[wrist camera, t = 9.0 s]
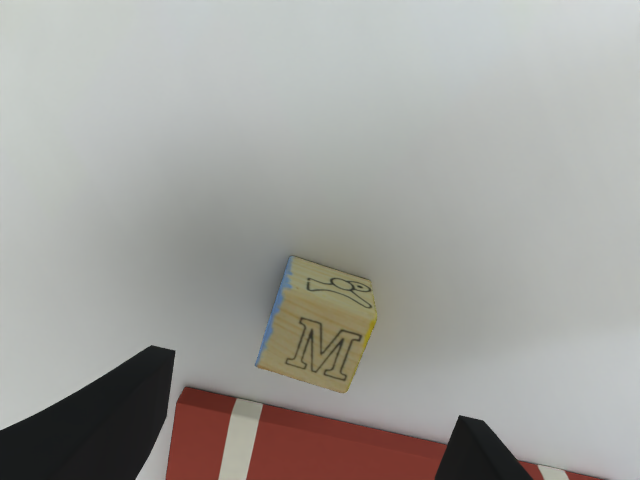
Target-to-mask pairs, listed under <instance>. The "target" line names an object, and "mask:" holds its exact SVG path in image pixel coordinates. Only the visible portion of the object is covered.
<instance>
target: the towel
mask: <svg viewBox="0 0 640 480" xmlns="http://www.w3.org/2000/svg"><path fill="white" fill-rule="evenodd" d="M446 447H447V445H445V444H441V443H436V442H432V441H427V440H423V439H418V438H414V437H409V436H405V435H400V434H396V433H391V432H387V431H382V430H378V429H373V428H369V427H364V426H360V425H355V424H351V423H346V422H342V421H337V420H333V419H328V418H324V417H319V416H315V415H310V414H306V413H301V412H297V411H292V410H288V409H283V408H279V407H274V406H270V405H265V404H262V403H258V402H253V401H249V400H244V399H240V398H234V397H229V396H225V395H220V394H216V393H211V392H207V391H202V390H198V389H193V388H189V387H185V388H184V389H183V391H182V393H181V395H180V397H179V399H178V401H177V403H176V410H175V417H174V424H173V431H172V438H171V445H170V452H169V459H168V466H167V473H166V480H435V475H436V472H437V470H438V467H439V465H440V462H441V460H442V457H443V455H444V452H445V450H446ZM518 462H519V463H520V464H521V465H522V466H523V468H524V469H525V470H526V471H527V472H528V473H529V475H530V476H531V477H532V478H533V479H534V480H603V479H598V478H594V477H589V476H585V475H580V474H576V473H571V472H567V471H564V470H561V469H557V468H552V467H548V466H543V465H539V464H537V465H535V464H531V463H526V462H522V461H518Z"/></svg>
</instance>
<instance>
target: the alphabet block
mask: <svg viewBox="0 0 640 480" xmlns="http://www.w3.org/2000/svg"><path fill="white" fill-rule="evenodd" d="M376 320H377V312H376V308H375V302H374V296H373V291H372V285H371V281H369V280H366V279H363V278H360V277H356V276H353V275H350V274H347V273H344V272H341V271H338V270H334V269H331V268H328V267H325V266H322V265H319V264H316V263H312V262H310V261H306V260H303V259H300V258H297V257H295V256H290V258H289V260H288V263H287V266H286V269H285V272H284V276H283V279H282V282H281V285H280V288H279V291H278V294H277V297H276V300H275V303H274V306H273V309H272V312H271V315H270V318H269V321H268V324H267V327H266V330H265V334H264V337H263V341H262V344H261V347H260V351H259V354H258V357H257V360H256V363H255V366H256V367H258V368H261V369H265V370H268V371H271V372H275V373H278V374H281V375H285V376H288V377H291V378H294V379H297V380H300V381H304V382H307V383H310V384H313V385H317V386H320V387H323V388H327V389H330V390H333V391H336V392H339V393H346V392H347V391H348V389H349V387H350V384H351V381H352V379H353V376H354V375H355V372H356V370H357V367H358V364H359V362H360V359H361V357H362V354H363V352H364V350H365V348H366V345H367V342H368V340H369V338H370V335H371V332H372V330H373V328H374V326H375V323H376Z"/></svg>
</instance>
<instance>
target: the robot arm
mask: <svg viewBox="0 0 640 480" xmlns="http://www.w3.org/2000/svg"><path fill="white" fill-rule="evenodd" d="M174 358H175V351H174V350H170V349H165V348H161V347H157V346H152V345H151V346H149V347H148V348H146V349H144V350H143V351H141V352H139V353H138V354H136V355H135V356H133V357H132V358H130V359H129V360H127V361H126V362H124V363H122V364H121V365H119V366H118V367H116V368H115V369H113V370H112V371H110V372H108V373H107V374H105V375H104V376H102V377H100V378H99V379H97V380H95V381H94V382H92V383H90V384H89V385H87V386H85V387H84V388H82V389H81V390H79V391H77V392H75V393H74V394H72V395H70V396H68V397H66V398H65V399H63V400H61V401H59V402H57V403H55V404H54V405H52V406H50V407H48V408H46V409H45V410H43V411H41V412H39V413H37V414H35V415H33V416H31V417H29V418H27V419H25V420H22V421H20V422H18V423H16V424H14V425H12V426H9V427H7V428H5V429H3V430H0V480H135V479H136V477H137V476H138V474H139V472H140V470H141V469H142V467H143V465H144V464H145V462H146V460H147V458H148V457H149V455H150V453H151V450H152V448H153V446H154V444H155V442H156V440H157V437H158V435H159V433H160V430H161V428H162V426H163V424H164V421H165V419H166V416H167V409H168V402H169V394H170V387H171V380H172V372H173V365H174ZM435 480H534V479H533V478H532V477H531V476H530V475H529V473H528V472H527V471H526V470H525V469H524V468H523V466H522V465H521V464H520V463H519V462H518V460H517V459H516V458H515V457H514V456H513V454H512V453H511V452H510V451H509V450H508V448H507V447H506V446H505V445H504V444H503V443H502V441H501V440H500V439H499V438H498V437H497V435H496V434H495V433H494V432H493V431H492V430H491V429H490V427H489V426H488V425H487V424H486V423H485V422H484V421H483V420H478V419H474V418H470V417H465V416H461V415H459V417H458V420H457V422H456V425H455V427H454V430H453V432H452V435H451V437H450V440H449V442H448V445H447V447H446V450H445V452H444V455H443V457H442V460H441V462H440V465H439V467H438V470H437V472H436V475H435Z"/></svg>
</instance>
